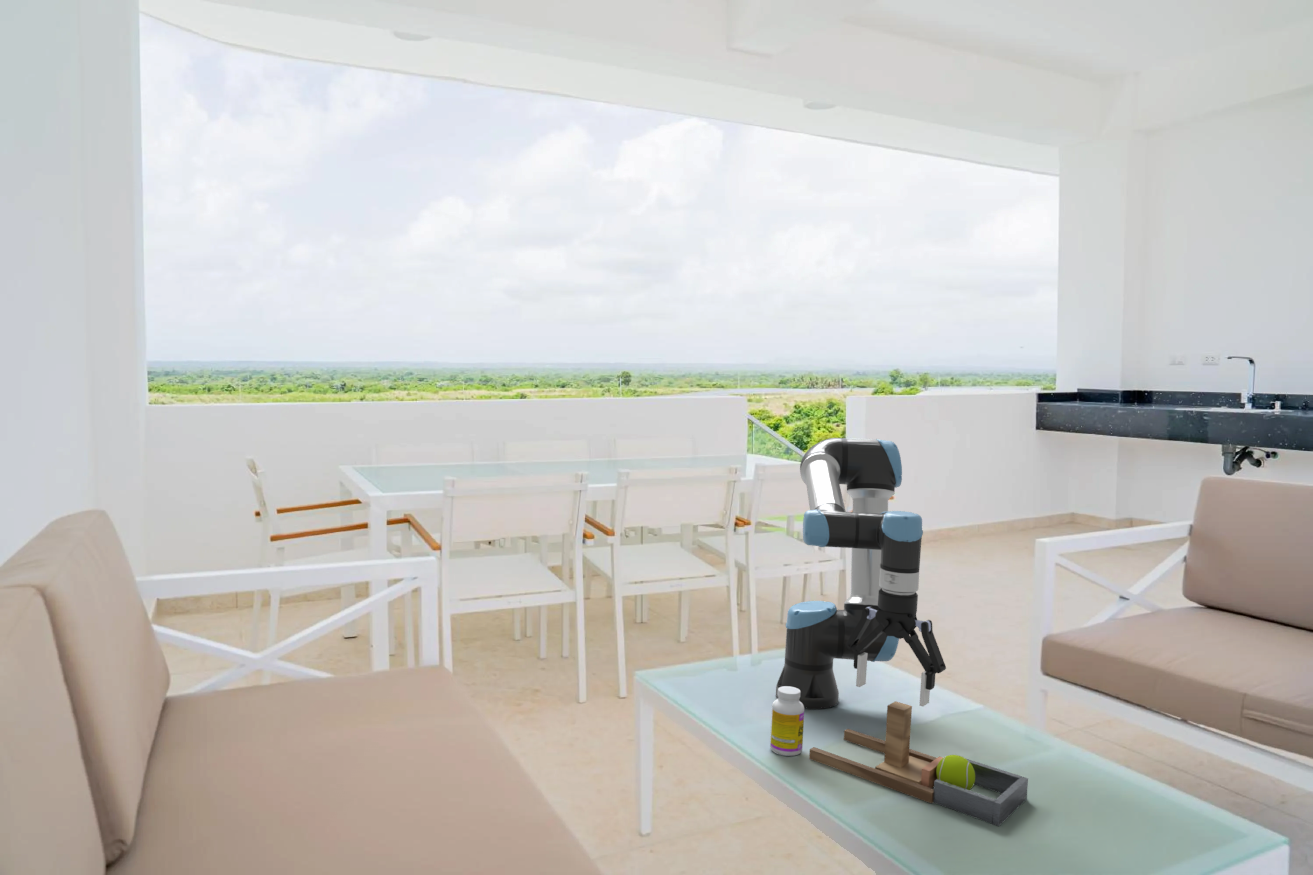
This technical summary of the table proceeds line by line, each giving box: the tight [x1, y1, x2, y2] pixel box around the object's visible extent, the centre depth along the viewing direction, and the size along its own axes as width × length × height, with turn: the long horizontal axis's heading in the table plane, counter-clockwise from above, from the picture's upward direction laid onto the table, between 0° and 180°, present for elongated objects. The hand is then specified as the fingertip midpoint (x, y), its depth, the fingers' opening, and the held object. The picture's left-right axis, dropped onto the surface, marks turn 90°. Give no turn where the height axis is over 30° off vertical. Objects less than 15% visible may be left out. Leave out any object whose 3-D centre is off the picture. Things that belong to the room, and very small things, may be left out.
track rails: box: [808, 728, 937, 804], centre depth 173 cm, size 16×26×2 cm, turn 48°
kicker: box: [874, 700, 944, 789], centre depth 169 cm, size 10×10×13 cm
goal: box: [932, 757, 1029, 827], centre depth 160 cm, size 14×12×4 cm
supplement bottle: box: [769, 686, 805, 757], centre depth 179 cm, size 7×7×13 cm
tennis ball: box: [936, 754, 975, 791], centre depth 163 cm, size 7×7×7 cm
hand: (891, 694), depth 172 cm, fingers open, 13 cm apart
